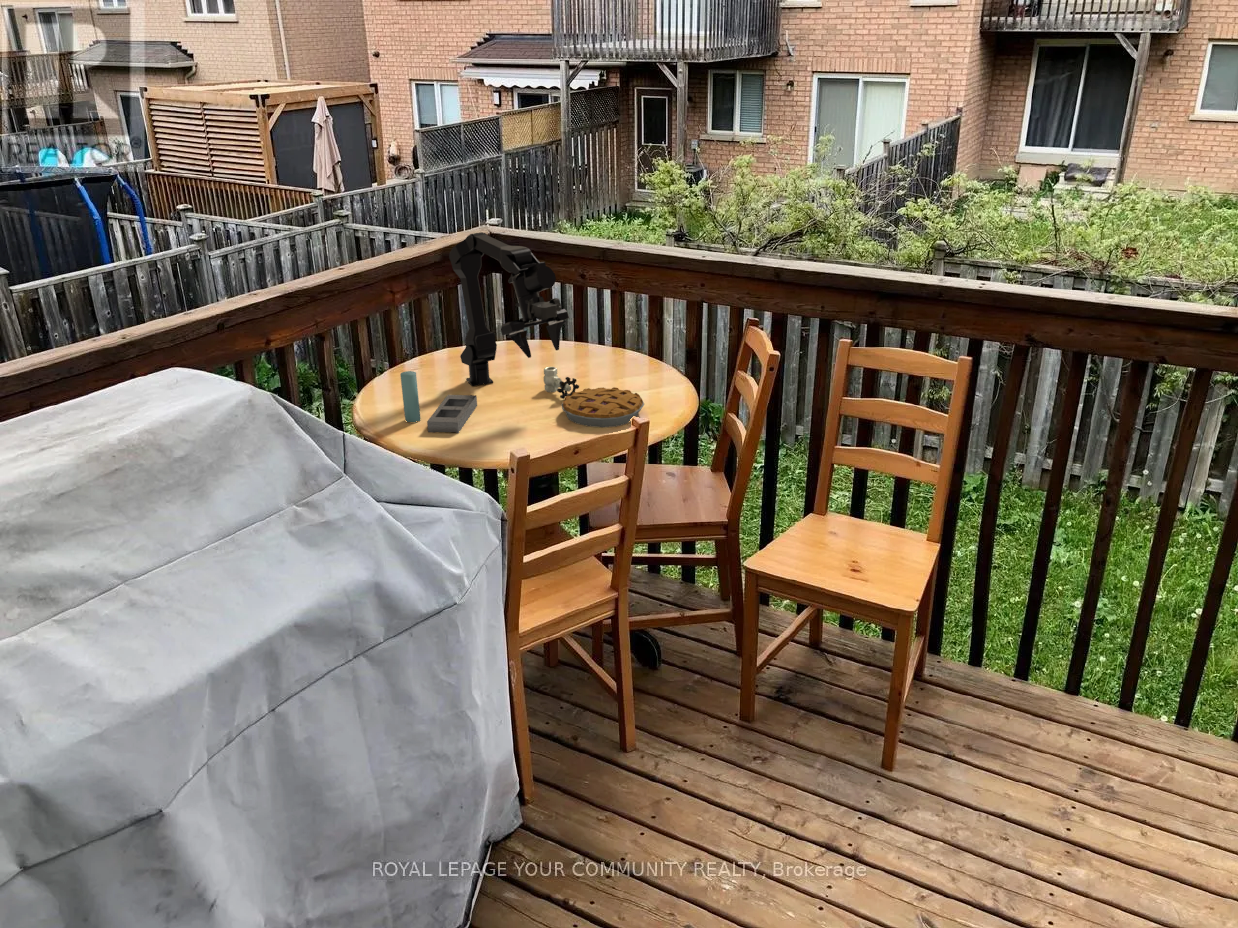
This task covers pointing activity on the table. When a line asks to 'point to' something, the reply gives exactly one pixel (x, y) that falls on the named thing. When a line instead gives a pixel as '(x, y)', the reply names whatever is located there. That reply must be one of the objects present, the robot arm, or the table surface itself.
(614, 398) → the pie
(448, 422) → the grey slotted block
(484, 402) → the table surface
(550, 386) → the valve
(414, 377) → the dowel
